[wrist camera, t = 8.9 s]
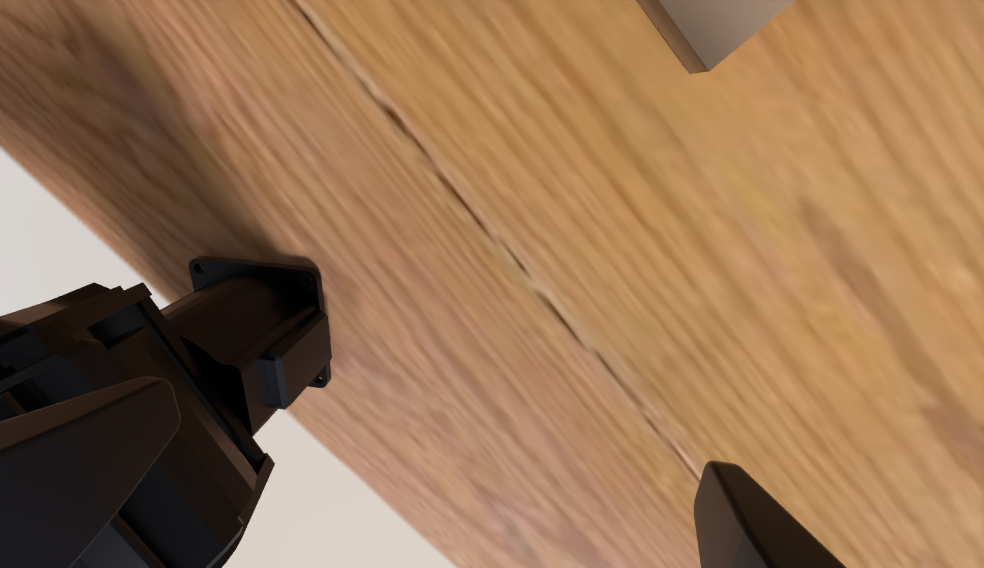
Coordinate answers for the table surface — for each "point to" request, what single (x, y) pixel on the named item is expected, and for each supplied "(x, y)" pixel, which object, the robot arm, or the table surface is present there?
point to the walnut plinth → (709, 26)
